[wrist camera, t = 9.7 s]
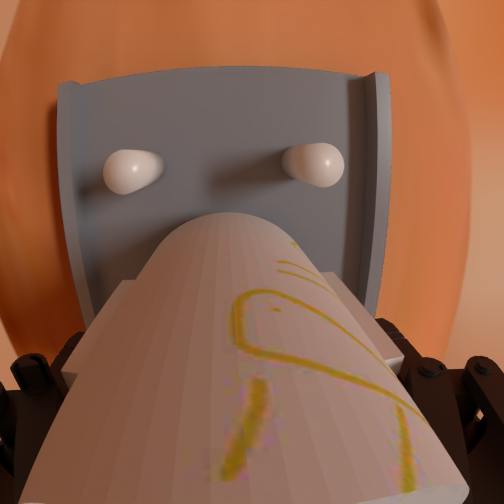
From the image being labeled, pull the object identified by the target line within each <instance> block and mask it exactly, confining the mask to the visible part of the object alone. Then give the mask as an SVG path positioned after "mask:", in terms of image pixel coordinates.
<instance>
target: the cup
mask: <svg viewBox="0 0 504 504" xmlns="http://www.w3.org/2000/svg"><path fill="white" fill-rule="evenodd" d="M468 494H469V486H468V485H467V483H466V481H465V480H464V478H463V477H462V475H461V473H460V472H459V470H458V468H457V467H456V465H455V464H454V462H453V461H452V459H451V457H450V456H449V454H448V453H447V451H446V450H445V448H444V446H443V445H442V443H441V442H440V440H439V439H438V437H437V436H436V434H435V433H434V431H433V430H432V428H431V427H430V425H429V424H428V422H427V421H426V419H425V418H424V416H423V415H422V413H421V412H420V410H419V409H418V407H417V406H416V404H415V403H414V401H413V400H412V398H411V397H410V395H409V394H408V393H407V391H406V390H405V388H404V387H403V385H402V384H401V383H400V381H399V380H398V378H397V377H396V375H395V374H394V373H393V371H392V370H391V368H390V367H389V365H388V364H387V363H386V361H385V360H384V358H383V357H382V356H381V354H380V353H379V352H378V350H377V349H376V347H375V346H374V345H373V343H372V342H371V340H370V339H369V338H368V336H367V335H366V334H365V332H364V331H363V330H362V328H361V327H360V326H359V324H358V323H357V321H356V320H355V319H354V317H353V316H352V315H351V313H350V312H349V311H348V309H347V308H346V307H345V305H344V304H343V303H342V301H341V300H340V299H339V297H338V296H337V295H336V294H335V292H334V291H333V290H332V288H331V287H330V286H329V284H328V283H327V282H326V280H325V279H324V278H323V277H322V275H321V274H320V273H319V271H318V270H317V269H316V268H315V266H314V265H313V264H312V262H311V261H310V260H309V259H308V257H307V256H306V255H305V254H304V252H303V251H302V250H301V248H300V247H299V246H298V245H297V243H296V242H295V241H294V240H293V239H292V238H291V237H290V236H289V235H288V234H287V233H286V232H284V231H283V230H282V229H280V228H279V227H277V226H276V225H274V224H272V223H271V222H269V221H266V220H264V219H262V218H259V217H256V216H252V215H248V214H243V213H234V212H223V213H213V214H208V215H204V216H201V217H198V218H195V219H193V220H190V221H188V222H186V223H184V224H183V225H181V226H179V227H178V228H176V229H175V230H174V231H172V232H171V233H170V234H169V235H168V236H167V237H166V238H165V239H164V240H163V241H162V242H161V243H160V244H159V246H158V247H157V249H156V250H155V252H154V253H153V254H152V256H151V257H150V259H149V260H148V262H147V263H146V265H145V266H144V268H143V269H142V271H141V272H140V274H139V275H138V277H137V278H136V280H135V281H134V283H133V284H132V286H131V287H130V289H129V290H128V292H127V293H126V295H125V296H124V298H123V300H122V301H121V303H120V304H119V306H118V307H117V309H116V311H115V312H114V314H113V315H112V317H111V319H110V320H109V322H108V324H107V325H106V327H105V329H104V330H103V332H102V334H101V335H100V337H99V339H98V340H97V342H96V344H95V345H94V347H93V349H92V350H91V352H90V354H89V356H88V357H87V359H86V361H85V363H84V365H83V366H82V368H81V370H80V372H79V373H78V375H77V377H76V379H75V381H74V383H73V385H72V386H71V388H70V390H69V392H68V394H67V396H66V398H65V400H64V402H63V404H62V405H61V407H60V409H59V411H58V413H57V415H56V417H55V419H54V421H53V423H52V426H51V428H50V430H49V432H48V434H47V436H46V438H45V440H44V442H43V445H42V447H41V449H40V451H39V453H38V456H37V458H36V460H35V463H34V465H33V467H32V470H31V472H30V474H29V477H28V479H27V482H26V484H25V487H24V489H23V492H22V495H21V497H20V500H19V503H18V504H462V503H463V502H464V501H465V499H466V498H467V496H468Z"/></svg>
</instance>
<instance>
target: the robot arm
mask: <svg viewBox="0 0 504 504" xmlns="http://www.w3.org/2000/svg"><path fill="white" fill-rule="evenodd" d="M320 274H321V275H322V277H323V278H324V279H325V280H326V282H327V283H328V284H329V286H330V287H331V288H332V290H333V291H334V292H335V294H336V295H337V296H338V297H339V299H340V300H341V301H342V303H343V304H344V305H345V307H346V308H347V309H348V311H349V312H350V313H351V315H352V316H353V317H354V319H355V320H356V321H357V323H358V324H359V326H360V327H361V328H362V330H363V331H364V332H365V334H366V335H367V336H368V338H369V339H370V340H371V342H372V343H373V345H374V346H375V347H376V349H377V350H378V352H379V353H380V354H381V356H382V357H383V358H384V360H385V361H386V363H387V364H388V365H389V367H390V368H391V370H392V371H393V373H394V374H395V375H396V377H397V378H398V380H399V381H400V383H401V384H402V385H403V387H404V388H405V390H406V391H407V393H408V394H409V395H410V397H411V398H412V400H413V401H414V403H415V404H416V406H417V407H418V409H419V410H420V412H421V413H422V415H423V416H424V418H425V419H426V421H427V422H428V424H429V425H430V427H431V428H432V430H433V431H434V433H435V434H436V436H437V437H438V439H439V440H440V442H441V443H442V445H443V446H444V448H445V450H446V451H447V453H448V454H449V456H450V457H451V459H452V461H453V462H454V464H455V465H456V467H457V468H458V470H459V472H460V473H461V475H462V477H463V478H464V480H465V481H466V483H467V485H468V486H469V494H468V496H467V498H466V499H465V501H464V502H463V503H462V504H504V373H503V372H502V370H501V369H500V368H499V367H498V365H497V364H496V363H495V362H494V361H493V360H491V359H489V358H488V357H484V356H474V357H471V358H470V359H469V360H468V361H467V363H466V366H465V368H464V369H447V368H446V367H445V365H444V364H443V363H442V362H440V361H438V360H436V359H434V358H428V357H422V356H421V355H420V354H419V353H418V352H417V350H416V349H415V348H414V347H413V346H412V345H411V344H410V342H409V341H408V340H407V339H405V337H404V336H403V335H402V333H400V332H399V330H398V329H397V328H396V327H395V326H394V325H393V324H392V323H390V322H389V321H387V320H385V319H383V318H379V319H374V318H373V317H372V316H371V315H370V314H369V312H368V311H367V310H366V309H365V308H364V307H363V305H362V304H361V303H360V302H359V301H358V300H357V298H356V297H355V296H354V295H353V294H352V293H351V291H350V290H349V289H348V288H347V287H346V286H345V284H344V283H343V282H342V281H341V280H340V279H339V278H338V276H337V275H336V274H335V273H334V272H320ZM134 281H135V280H122V282H121V283H120V284H119V286H118V287H117V288H116V290H115V291H114V292H113V294H112V295H111V297H110V298H109V299H108V301H107V302H106V303H105V305H104V306H103V308H102V309H101V311H100V312H99V313H98V315H97V316H96V318H95V319H94V321H93V322H92V324H91V325H90V326H89V328H88V329H87V331H86V332H78V333H76V334H75V335H74V336H72V337H71V338H69V340H68V341H67V343H66V344H65V345H64V348H62V350H61V351H60V353H59V355H57V357H56V358H55V360H54V361H53V363H52V364H51V366H50V367H49V365H48V362H47V360H46V358H45V357H44V356H43V355H41V354H38V353H30V354H27V355H23V356H21V357H20V358H18V359H17V360H16V361H15V362H14V363H13V364H12V366H11V367H10V369H11V371H12V373H13V376H14V378H15V379H16V381H17V383H18V385H19V387H20V389H21V390H9V391H6V390H5V388H4V386H3V384H2V383H1V382H0V438H1V441H0V504H18V503H19V500H20V497H21V495H22V492H23V489H24V487H25V484H26V482H27V479H28V477H29V474H30V472H31V470H32V467H33V465H34V463H35V460H36V458H37V456H38V453H39V451H40V449H41V447H42V445H43V442H44V440H45V438H46V436H47V434H48V432H49V430H50V428H51V426H52V423H53V421H54V419H55V417H56V415H57V413H58V411H59V409H60V407H61V405H62V404H63V402H64V400H65V398H66V396H67V394H68V392H69V390H70V388H71V386H72V385H73V383H74V381H75V379H76V377H77V375H78V373H79V372H80V370H81V368H82V366H83V365H84V363H85V361H86V359H87V357H88V356H89V354H90V352H91V350H92V349H93V347H94V345H95V344H96V342H97V340H98V339H99V337H100V335H101V334H102V332H103V330H104V329H105V327H106V325H107V324H108V322H109V320H110V319H111V317H112V315H113V314H114V312H115V311H116V309H117V307H118V306H119V304H120V303H121V301H122V300H123V298H124V296H125V295H126V293H127V292H128V290H129V289H130V287H131V286H132V284H133V283H134ZM479 410H481V412H482V413H483V415H484V416H483V417H482V419H481V420H480V419H479V418H478V417H477V414H478V412H479Z"/></svg>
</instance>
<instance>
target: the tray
mask: <svg viewBox="0 0 504 504" xmlns="http://www.w3.org/2000/svg"><path fill="white" fill-rule="evenodd" d="M391 152H392V129H391V97H390V81H389V75H388V74H384V73H379V72H373V73H371V74H369V75H367V76H365V77H364V76H358V75H352V74H345V73H338V72H330V71H322V70H312V69H301V68H287V67H266V66H220V67H199V68H185V69H174V70H164V71H156V72H148V73H141V74H135V75H128V76H123V77H117V78H112V79H107V80H102V81H97V82H93V83H88V84H84V85H81V84H79V83H77V82H74V81H68V82H64V83H61V84H58V100H57V160H58V177H59V190H60V200H61V209H62V217H63V225H64V232H65V238H66V244H67V250H68V256H69V261H70V266H71V271H72V276H73V280H74V285H75V289H76V293H77V298H78V302H79V306H80V309H81V313H82V317H83V320H84V324H85V327H86V331H87V329H88V328H89V326H90V325H91V324H92V322H93V321H94V319H95V318H96V316H97V315H98V313H99V312H100V311H101V309H102V308H103V306H104V305H105V303H106V302H107V301H108V299H109V298H110V297H111V295H112V294H113V292H114V291H115V290H116V288H117V287H118V286H119V284H120V283H121V282H122V280H136V278H137V277H138V275H139V274H140V272H141V271H142V269H143V268H144V266H145V265H146V263H147V262H148V260H149V259H150V257H151V256H152V254H153V253H154V252H155V250H156V249H157V247H158V246H159V244H160V243H161V242H162V241H163V240H164V239H165V238H166V237H167V236H168V235H169V234H170V233H171V232H172V231H174V230H175V229H176V228H178V227H179V226H181V225H183V224H184V223H186V222H188V221H190V220H193V219H195V218H198V217H201V216H204V215H208V214H213V213H223V212H234V213H243V214H248V215H252V216H256V217H259V218H262V219H264V220H266V221H269V222H271V223H272V224H274V225H276V226H277V227H279V228H280V229H282V230H283V231H284V232H286V233H287V234H288V235H289V236H290V237H291V238H292V239H293V240H294V241H295V242H296V243H297V245H298V246H299V247H300V248H301V250H302V251H303V252H304V254H305V255H306V256H307V257H308V259H309V260H310V261H311V262H312V264H313V265H314V266H315V268H316V269H317V270H318V271H319V273H320V272H334V273H335V274H336V275H337V276H338V278H339V279H340V280H341V281H342V282H343V283H344V284H345V286H346V287H347V288H348V289H349V290H350V291H351V293H352V294H353V295H354V296H355V297H356V298H357V300H358V301H359V302H360V303H361V304H362V305H363V307H364V308H365V309H366V310H367V311H368V312H369V314H370V315H371V316H372V317H373V318H374V319H375V314H376V308H377V302H378V297H379V290H380V284H381V277H382V270H383V263H384V255H385V246H386V237H387V227H388V216H389V202H390V185H391Z"/></svg>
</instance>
